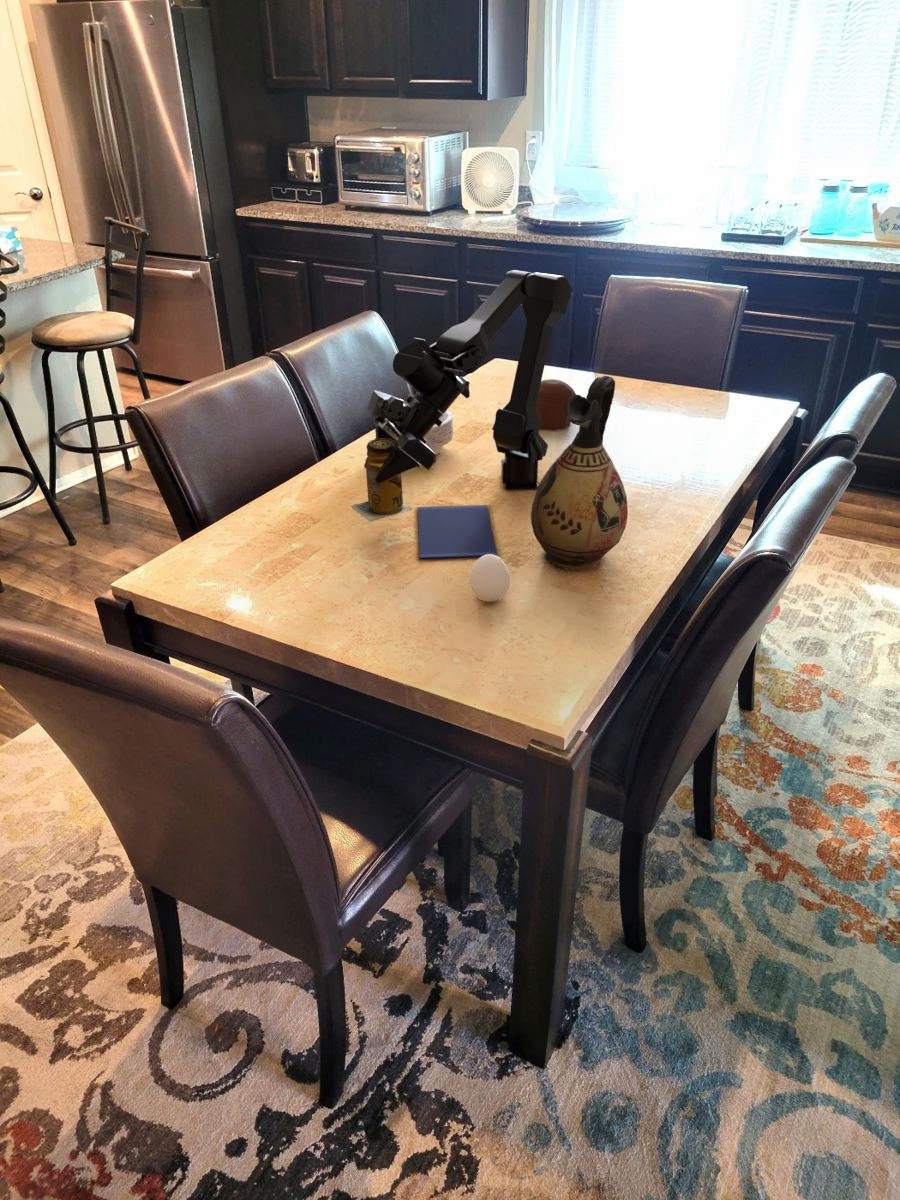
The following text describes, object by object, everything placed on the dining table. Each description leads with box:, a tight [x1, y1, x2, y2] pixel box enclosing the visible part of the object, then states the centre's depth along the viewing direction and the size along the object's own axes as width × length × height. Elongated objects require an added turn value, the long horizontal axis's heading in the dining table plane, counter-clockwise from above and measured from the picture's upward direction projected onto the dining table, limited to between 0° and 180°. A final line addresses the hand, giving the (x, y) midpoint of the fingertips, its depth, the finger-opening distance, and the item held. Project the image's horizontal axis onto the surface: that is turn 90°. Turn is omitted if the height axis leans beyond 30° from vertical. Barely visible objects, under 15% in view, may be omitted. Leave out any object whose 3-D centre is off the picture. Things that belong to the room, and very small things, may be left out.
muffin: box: [536, 378, 577, 432], centre depth 196 cm, size 12×11×10 cm
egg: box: [469, 554, 511, 603], centre depth 129 cm, size 6×6×8 cm
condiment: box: [350, 438, 413, 523], centre depth 145 cm, size 7×8×12 cm
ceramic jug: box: [530, 374, 629, 572], centre depth 135 cm, size 17×15×30 cm
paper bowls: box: [397, 409, 454, 455], centre depth 182 cm, size 15×15×8 cm
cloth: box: [417, 504, 498, 561], centre depth 151 cm, size 13×20×1 cm, turn 3°
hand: (371, 474), depth 145 cm, fingers closed on condiment, 6 cm apart
